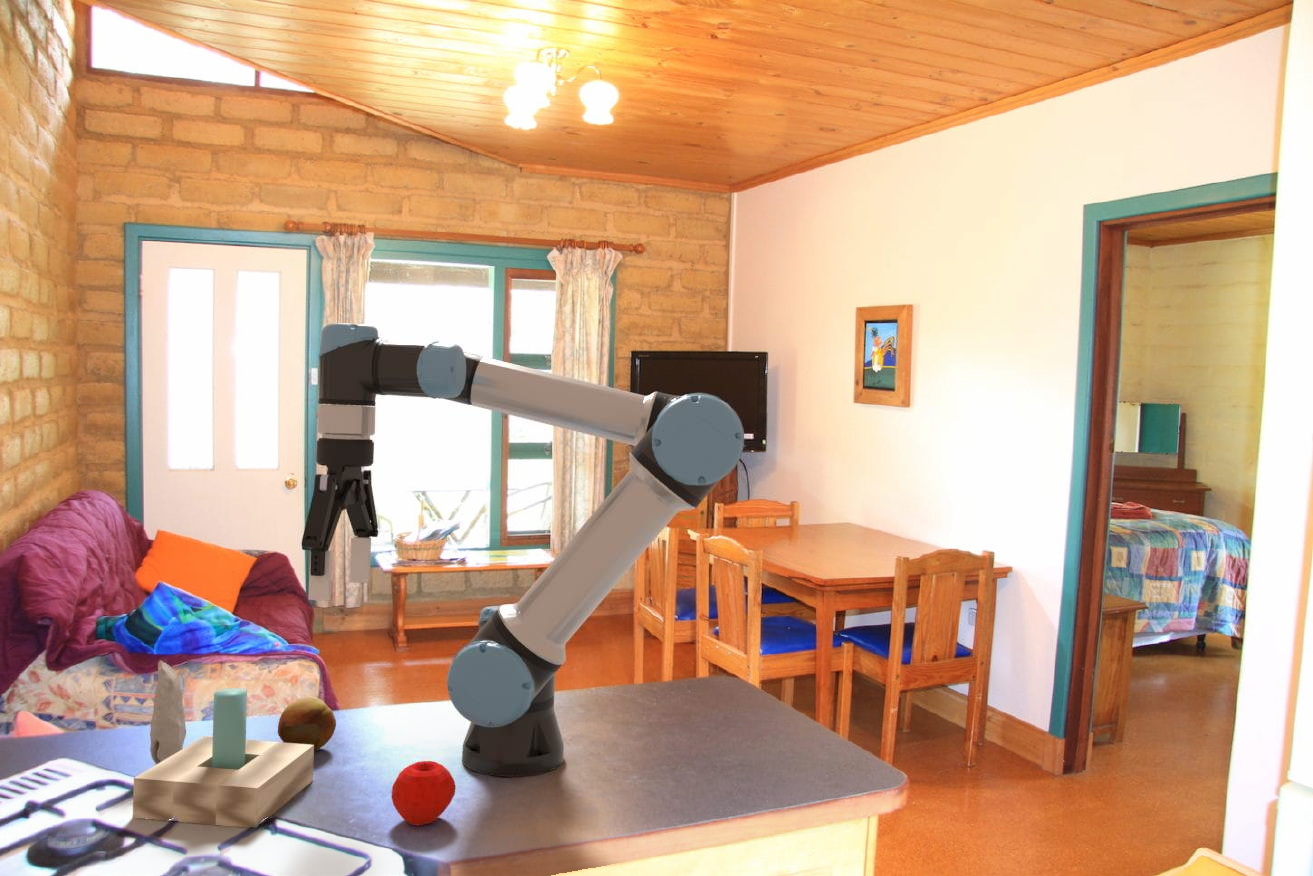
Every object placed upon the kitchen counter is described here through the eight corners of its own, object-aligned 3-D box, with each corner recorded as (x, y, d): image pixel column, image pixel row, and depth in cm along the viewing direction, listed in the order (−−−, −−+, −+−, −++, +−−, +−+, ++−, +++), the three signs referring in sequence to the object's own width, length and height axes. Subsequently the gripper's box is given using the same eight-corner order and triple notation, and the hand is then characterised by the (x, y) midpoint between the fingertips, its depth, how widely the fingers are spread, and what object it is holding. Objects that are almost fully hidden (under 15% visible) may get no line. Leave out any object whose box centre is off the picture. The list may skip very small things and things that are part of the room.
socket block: (312, 780, 137) (314, 745, 137) (256, 828, 121) (257, 788, 121) (202, 771, 139) (204, 736, 139) (132, 818, 123) (133, 778, 123)
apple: (454, 833, 123) (457, 774, 122) (388, 836, 121) (391, 776, 121) (454, 807, 130) (456, 751, 130) (392, 810, 129) (394, 753, 129)
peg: (249, 793, 132) (252, 689, 131) (234, 805, 128) (237, 698, 127) (221, 791, 132) (224, 687, 132) (204, 803, 128) (207, 696, 128)
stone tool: (166, 778, 136) (170, 669, 135) (141, 778, 135) (145, 669, 135) (189, 754, 145) (192, 653, 145) (165, 754, 145) (169, 653, 144)
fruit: (338, 756, 147) (340, 702, 147) (279, 762, 144) (281, 707, 143) (331, 739, 154) (333, 688, 154) (274, 745, 150) (276, 693, 150)
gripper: (354, 434, 148) (350, 574, 149) (276, 437, 124) (271, 606, 124) (403, 436, 148) (398, 577, 148) (334, 440, 123) (329, 610, 124)
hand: (340, 591), depth 136 cm, fingers open, 13 cm apart
